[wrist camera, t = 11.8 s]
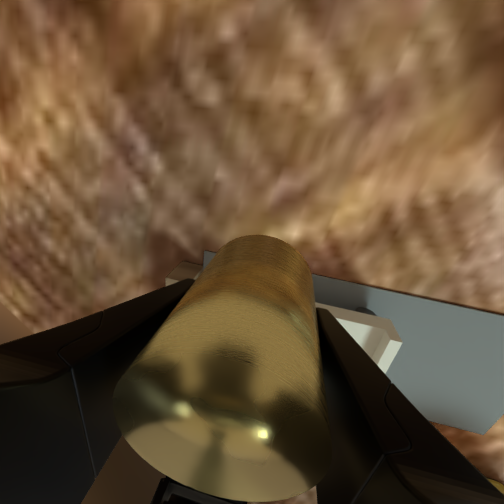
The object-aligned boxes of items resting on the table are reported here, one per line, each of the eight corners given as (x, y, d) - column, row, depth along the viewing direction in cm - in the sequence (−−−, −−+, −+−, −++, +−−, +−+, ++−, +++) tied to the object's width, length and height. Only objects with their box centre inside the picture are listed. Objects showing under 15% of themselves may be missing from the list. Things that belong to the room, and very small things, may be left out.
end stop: (197, 348, 26) (185, 372, 23) (179, 343, 26) (165, 367, 23) (203, 265, 21) (190, 283, 19) (182, 261, 22) (165, 277, 19)
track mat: (482, 433, 24) (483, 435, 23) (196, 358, 26) (196, 359, 26) (578, 331, 18) (580, 333, 18) (204, 250, 21) (204, 251, 21)
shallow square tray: (345, 388, 24) (353, 430, 21) (228, 358, 25) (216, 392, 22) (384, 307, 20) (402, 342, 16) (240, 275, 21) (229, 301, 17)
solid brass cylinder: (299, 336, 11) (300, 522, 6) (205, 314, 11) (120, 466, 6) (325, 247, 9) (367, 393, 4) (213, 224, 10) (101, 326, 4)
